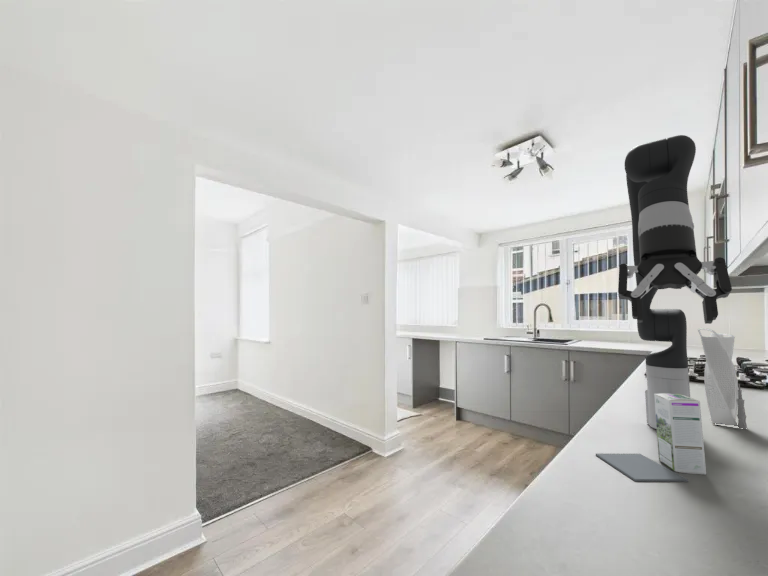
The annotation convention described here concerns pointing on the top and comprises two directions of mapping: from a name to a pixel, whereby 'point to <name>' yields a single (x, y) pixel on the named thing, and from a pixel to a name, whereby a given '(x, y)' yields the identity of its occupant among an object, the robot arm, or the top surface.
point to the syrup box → (680, 433)
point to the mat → (641, 468)
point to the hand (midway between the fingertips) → (672, 321)
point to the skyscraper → (722, 380)
